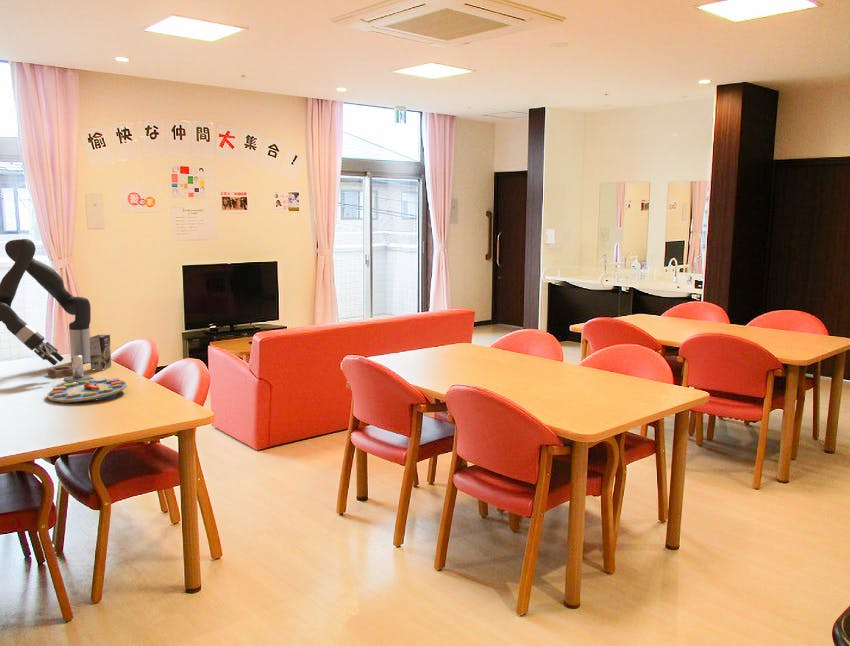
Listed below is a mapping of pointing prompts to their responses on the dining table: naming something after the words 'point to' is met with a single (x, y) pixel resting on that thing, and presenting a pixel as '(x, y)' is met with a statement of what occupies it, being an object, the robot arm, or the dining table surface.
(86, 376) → the slate tile
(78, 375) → the metal cylinder
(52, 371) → the pocket block
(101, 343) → the coffee box
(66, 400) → the shape sorting clock
